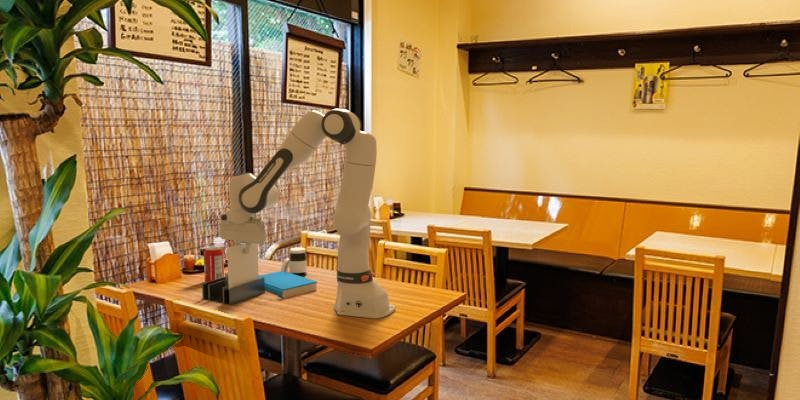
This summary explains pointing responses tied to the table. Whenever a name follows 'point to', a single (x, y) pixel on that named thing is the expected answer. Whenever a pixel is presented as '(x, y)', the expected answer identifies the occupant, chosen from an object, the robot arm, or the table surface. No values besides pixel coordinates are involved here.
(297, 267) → the striped mug
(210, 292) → the rack
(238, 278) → the tall sheet
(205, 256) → the soda can
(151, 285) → the table surface
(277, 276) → the book
